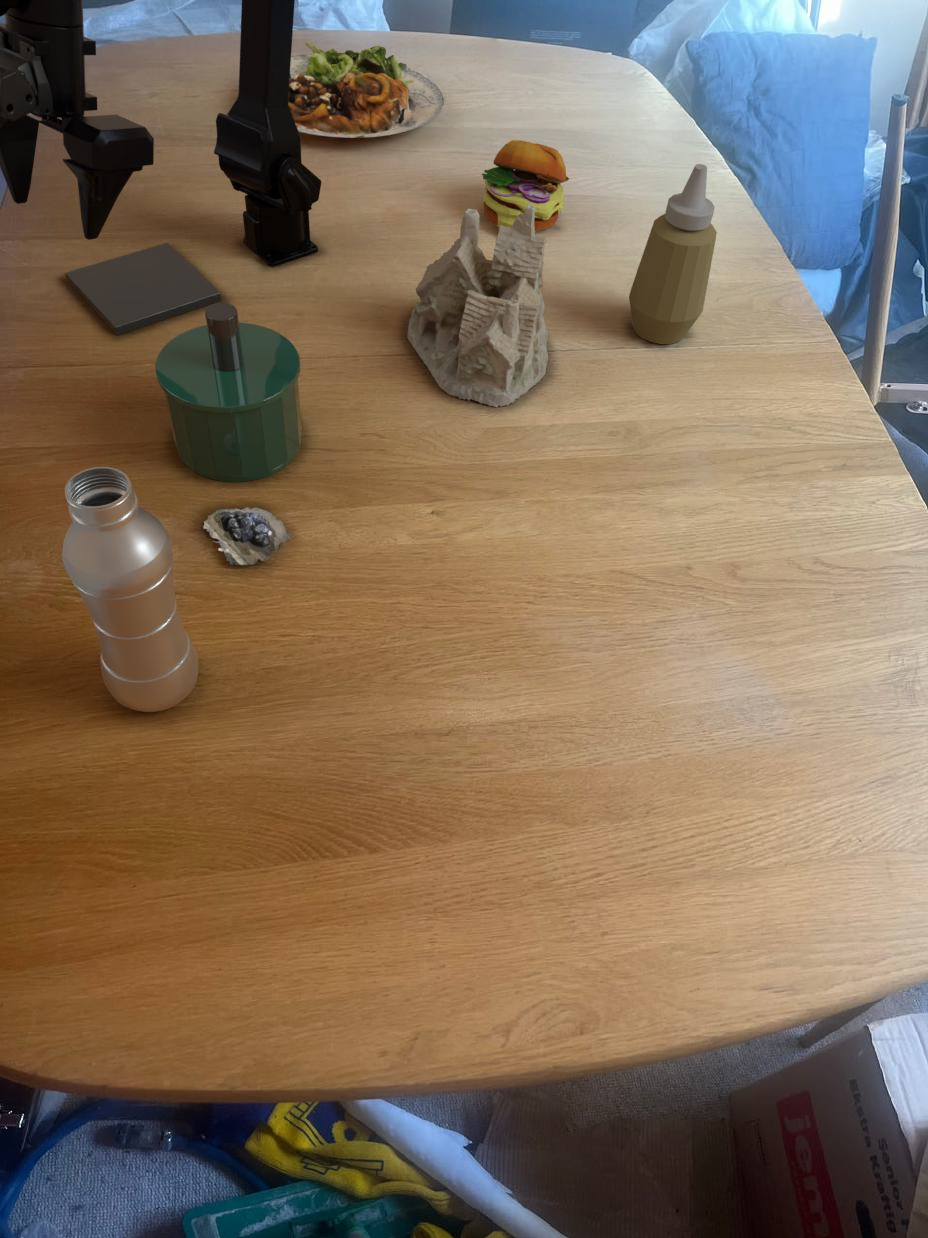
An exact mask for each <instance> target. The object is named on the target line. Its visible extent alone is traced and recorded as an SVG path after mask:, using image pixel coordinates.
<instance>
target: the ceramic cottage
mask: <svg viewBox="0 0 928 1238" xmlns="http://www.w3.org/2000/svg"><path fill="white" fill-rule="evenodd" d="M534 216H535V207H534V206H533V205H531V204H528V205H527V207H526V209H525V214H521V213H520V214H519V215H518V216H517V217H516V219H515V221H514V223H513V225H512V226H511V228H508V227H505V226H501V225H500V226H499V229H498V231H497V235H496V238H495V244H494V248H493V257H492V259H487V258H486V256H485V254H484V252H483V250H482V249H481V248H480V247H479V238H480V237H479V235H480V213H479V212H478V210H477V209H473V208H467V209H465V210H464V212H463V215H462V219H461V223H460V231H459V232H460V234H459V238H457V239H456V240H454V241H453V244H452V245H451V246H450V249H448V250H446V251H445V252H443V254H442V255H441V256H440V257H439V258H438V259H435V260H434V262H433V263H430V264H428V265H427V266H426V269H425V271H424V273H423V276H422V279H421V280H420V281H419V283H418V285H417V286H416V288H415V294H416V295H417V296H418V297H419V301H418V302H417V303H416V306H415V307H414V308H412V310H411V315H410V318H409V320H408V326H407V334H406V338H407V340H408V342H409V343H410V345H411V346H412V347H413V349H414V350H415V352H416V353H417V355H418V357H419V358H420V359H421V361H423V364H424V365H425V366H426V367H427V369H428V370H429V372H430V374H431V377H433V379H434V381H435V382H436V384H437V385H438V387H439V388H440V389H441V390H443V391H444V392H445V393H447V394H448V395H449V396H452V397H456V398H458V399H459V400H461V399H463V400H467V401H471V400H472V401H474V402H477V403H478V402H479V404H480V405H481V404H483V405H487V406H488V407H495V408H499V407H505V406H509V405H510V404H513V403H515V402H516V400H518V399H520V398H521V396H523V395H526V393H528V391H529V390H531V388H533V387H534V386H536V385H537V384H538V383H540V382H541V379H543V378H544V377H545V375H546V373H547V367H548V361H549V360H548V359H549V354H548V350H547V344H548V339H549V330H548V329H547V326H546V323H545V315H544V312H545V308H546V306H545V301H544V298H543V294H542V293H541V290H540V289H542V288H543V287H544V278H543V272H544V271H543V266H544V256H545V255H544V254H545V247H546V243H547V238H546V236H540V235H536V231H535V228H534Z"/></svg>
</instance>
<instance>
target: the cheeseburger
mask: <svg viewBox="0 0 928 1238" xmlns="http://www.w3.org/2000/svg"><path fill="white" fill-rule="evenodd" d="M493 165H494V166H496V167H492V168H489V169H484V171H483V173H482V174H481V176H482V179H483V180H484V185H485V186H484V189H485V191H484V194H483V195H484V202H483V212H484V214H485V216H486V218H487V219H488V220H489V221H490V222H491V223H492V224H493V225H495V226H496V227H497V229H498V230H499V226H500V225H501V226H505V227H508V228H511V226H512V225H513V223H514V221H515V219H516V217H517V216H518V215H519V214H520V213H521V214H525V209H526V207H527V205H528V204H531V205H533V206H534V207H535V216H534V228H535V232H538V231H543V230H545V229H548V228H551V227H553V226H555V225H556V223H557V220H558V218H559V215H560V214H561V212H562V210H564V206H565V201H564V199H563V198H564V196H565V192H564V187H563V185H562V184H564V183H567V182H568V181H569V180H570V177H568V176H567V167H566V165H565V162H564V159H563V156H562V154H561V153H560V152H559V150H558V149H556V148H554V147H551V146H548V145H544V144H541V143H534V142H530V141H525V140H521V139H520V140H519V139H518V140H517V139H514V140H513V139H512V140H510V141H508V142H507V143H505V144H504V145H503V146H502V147H501V148H500V150H499V151H497V154H496V155H495V157H494V159H493Z"/></svg>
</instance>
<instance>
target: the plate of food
mask: <svg viewBox="0 0 928 1238" xmlns="http://www.w3.org/2000/svg"><path fill="white" fill-rule="evenodd" d="M304 43H305V45H306V47H307V48H309V49H310V51H311V52H312V54H298V55H293V56H292V55H291V65H290V80H289V95H288V105H289V108H290V111H291V114H292V116H293V119H294V121H295V124H296V126H297V129H298V132H299V133H304V134H308V135H314V136H321V137H330V138H331V137H332V138H346V139H347V138H351V139H356V138H376V137H386V136H391V135H398V134H400V133H401V134H402V133H405V132H409V131H412V130H415V129H418V128H420V127H422V126H424V125H426V124H428V123H430V122H432V121H433V120H434V119H435V118H437V117H438V115H439V114H440V113H441V111H442V109H443V107H444V105H445V99H444V96H443V93H442V91H441V90H440V88H439V87H438V86H437V85H436V84H435V82H433V81H431V80H430V79H429V78H427V77H425V76H424V75H423V74H421V73H420V72H417V71H416V70H413V69H411V68H410V67H408V66H407V64H406V63H404V62H398V61H397V60H396V58H395V55H394V54H391V55H390V56H388V57H387V58H386V55H387V49H386V47H385V46H382V45H381V46H380V45H375V46H372V47H370V48H366V49H362V50H361V51H360V52H357V51H356V52H355V51H353V50H351V49H346V50H345V52H338V51H337V50H336V49H335V48H331V49H330V50H326V51H324V50H322V49H319V48H318V47H317V45H314V44H313V43H312V42H311V41H305V42H304Z"/></svg>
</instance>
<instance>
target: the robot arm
mask: <svg viewBox="0 0 928 1238" xmlns="http://www.w3.org/2000/svg"><path fill="white" fill-rule="evenodd" d="M295 2H296V0H241V15H240V41H239V42H240V43H239V71H238V73H239V74H238V93H237V97H236V99H235V100H234V101H233V103H232V105H231V106H230V109H228V112H227V113H223V112H219V113H217V116H216V118H215V127H216V143H215V146H214V150H213V154H214V155H216V156H217V157H218V165H219V168H220V171H221V172H223V174H224V176H226V178H227V179H229V181H230V184H231V186H232V188H233V190H235V191H237V192H241V193H244V194H245V195H244V204H245V210H244V211H242V220H243V228H244V236H243V237H242V243H243V244H244V245H245V246H246V247H247V248H249V250H251V252H253V253H254V254H255V255H256V256H258V257H259V258H260V259H261V260H262V261H263V262H265V263H266V264H267V265H268V266H270V267H276V266H279V265H281V264H284V263H288V262H291V261H294V260H296V259H300V258H303V257H307V256H309V255H312V254H315V253H317V252H319V246H318V245H317V244H315V243H314V241H312V240H311V227H310V226H311V225H310V212H309V211H311V210H312V209H313V208H312V206H313V204H315V203H317V202H318V201H319V199H320V194H321V188H322V180H321V179H320V178H319V177H318V176H317V175H316V174H314V173H313V172H312V171H311V170H310V169H309V168H308V167H307V166H306V165H305V164H303V163H302V141H301V139H302V138H301V134H300V132H299V131H298V129H297V126H296V124H295V121H294V119H293V116H292V114H291V111H290V108H289V105H288V95H289V80H290V65H291V57H292V49H293V32H294V18H295V17H294V15H295ZM83 3H84V1H83V0H0V17H3V16H4V23H0V171H1V173H2V176H3V179H4V180H5V183H6V185H7V188H8V191H9V193H10V196H11V199H12V200H13V202H14V203H16V204H18V205H20V204H26V203H28V198H29V195H30V190H31V184H32V178H33V170H34V165H35V163H34V162H35V156H36V148H37V143H38V142H37V140H38V134H39V129H40V128H39V127H40V124H41V125H44V126H46V127H47V128H49V129H52V130H54V131H56V132H58V133H61V134H62V140H63V142H62V143H63V144H62V145H63V147H64V149H65V150H66V152H67V154H68V157H69V158H63V159H62V162H63V163H64V164H65V166H66V167H67V168H68V169H69V170H70V171H71V173H72V174H73V175H74V176H75V177H76V181H77V189H78V199H79V209H80V210H79V211H80V219H81V226H82V231H83V237H84V238H85V239H86V240H88V241H92V240H96V239H98V238H99V236H100V233H101V232H102V230H103V228H104V225H105V224H106V222H107V219H108V217H109V216H110V214H111V212H112V210H113V207H114V206H115V204H116V202H117V199H118V198H119V196H120V194H121V193H122V191H123V189H124V188H125V186H126V184H127V183H128V182H129V180H130V178H131V177H132V175H133V174H134V173H135V172H141V171H143V168H144V167H145V166H153V165H154V163H155V162H154V159H155V157H154V156H155V155H154V154H155V152H154V151H155V147H154V146H155V145H154V144H155V138H154V136H152V134H151V133H150V131H149V130H148V129H147V128H146V126H143V125H141V124H139V123H137V122H134V121H133V120H130V119H127V118H125V117H124V116H121V115H118V114H102V115H91V116H90V115H88V116H87V115H86V116H85V112H91V111H98V97H97V96H96V95H94V94H91V93H89V92H87V91H86V89H87V88H86V67H85V66H86V61H85V60H86V59H85V58H86V57H85V56H97V41H96V40H93V39H92V38H89V37H86V36H85V27H84V25H85V24H84V4H83Z"/></svg>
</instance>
